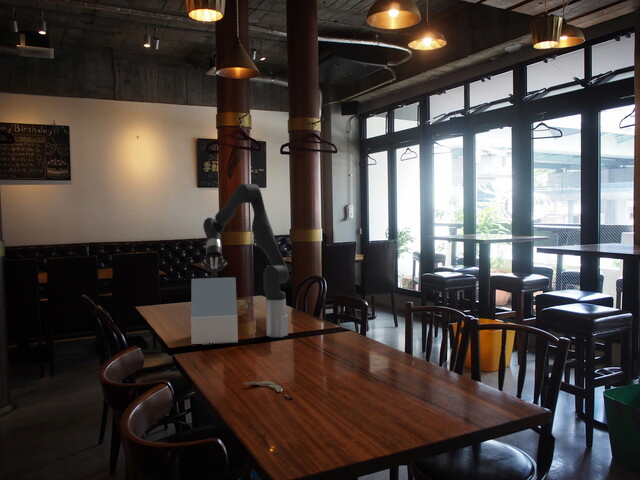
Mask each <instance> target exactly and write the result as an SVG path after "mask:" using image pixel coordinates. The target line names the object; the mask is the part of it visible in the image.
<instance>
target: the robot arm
mask: <svg viewBox="0 0 640 480" xmlns="http://www.w3.org/2000/svg"><path fill="white" fill-rule="evenodd" d="M242 204H250V205H251V207H252V211H253V219H252V225H251V232H252V235H253V238H254V240H255V242H256V245H257V246H258V247H259V249H260V250H261V251H262V252H263V253H264V254H265V255H266V257H267V258H268V260H269V262H270V264H269V265H267V266H266V267H264V268H265V269H264V271H263V274H262V275H263V277H262V278H263V290H264V291H263V292H264V294H265V295H264V296H265V303H266V304H265V310H266V312H265V313H266V314H265V315H266V317H265V318H266V321H265V322H266V336H267V337H268V336H269V337H268V338H283V337H286V336H288V335H289V316H288V314H287V301H286V299H287V296H286V292H285V291H282V290H281V287H280V285H281V284H285V283H287V282H288V281H289V277H290V272H289V269H288V267H287V264H286V262H285V260H284V258H283V256H282V253H281V252H280V247H279V246H278V242H277V241H276V237H275V234H274V232H273V228H272V225H271V224H270V220H269V217H268V215H267V211H266V207H265V204H264V199H263V194H262V192H261V189H260V186H258V185H257V184H255V183H241V184H239V185H238V186H237V187H236V189H235V190H234V191H233V192H232V195H230V197H229V198H228V200H227V202H226V203H225V204H224V206H223V207H222V208H221V209H220V210H219V211H217V212H216V214H215V215H214V218H213V217H207V218H205V220H204V221H203V225H202V226H203V230H204V233H205V237H206V245H205V246H206V247H205V248H206V249H205V254H206V255H205V258H204V260H201V261H200V264H201V266H202V267H203V268H204V269H205V270H206V271H207V272H210V278H218V272H221V271H222V270H223V269H224V268H225V267H226V266H227V265H228V260H227V259H223V258H224V257H223V252H222V251H223V246H222V237H221V234H222V233H223V231H224V230H225V227H226V225H227V224H228V223H229V221H230V220H232V219H233V218H234V216H235V215H236V211H237V208H238V207H239V206H240V205H242Z"/></svg>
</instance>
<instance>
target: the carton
mask: <svg viewBox="0 0 640 480" xmlns="http://www.w3.org/2000/svg"><path fill="white" fill-rule="evenodd" d="M238 324H239V323H238V316H237V315H231V316H211V317H191V316H190V330H191V331H190V332H191V334H190V335H191V337H190V338H191V339H190V340H191V343H190V344H191V345H192V344H202V345H214V344H215V345H216V344H217V345H218V344H230V343H231V344H235V343H236V344H237V343H238V342H239V340H238V339H239V337H238V336H239V334H238V326H239V325H238ZM209 343H210V344H209ZM212 343H213V344H212Z"/></svg>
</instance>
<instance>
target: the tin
mask: <svg viewBox="0 0 640 480" xmlns="http://www.w3.org/2000/svg"><path fill="white" fill-rule="evenodd" d="M236 303H237V317H238V316H243V315H246V314H247V313H248V312H249V311H250V310H249V309H250V303H249V302H248V300H246V299H239V300H236Z"/></svg>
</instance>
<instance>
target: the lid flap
mask: <svg viewBox="0 0 640 480" xmlns="http://www.w3.org/2000/svg"><path fill="white" fill-rule="evenodd" d="M236 281H237V279H236V277H234V276H233V277H216V278H213V277H210V278H209V277H207V278H205V277H204V278H191V294H190V295H191V300H190V301H191V305H190V306H191V308H190V309H191V310H190V312H191V313H190V318H191V317H211V316H231V315H237V303H236V301H237V282H236Z"/></svg>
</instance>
